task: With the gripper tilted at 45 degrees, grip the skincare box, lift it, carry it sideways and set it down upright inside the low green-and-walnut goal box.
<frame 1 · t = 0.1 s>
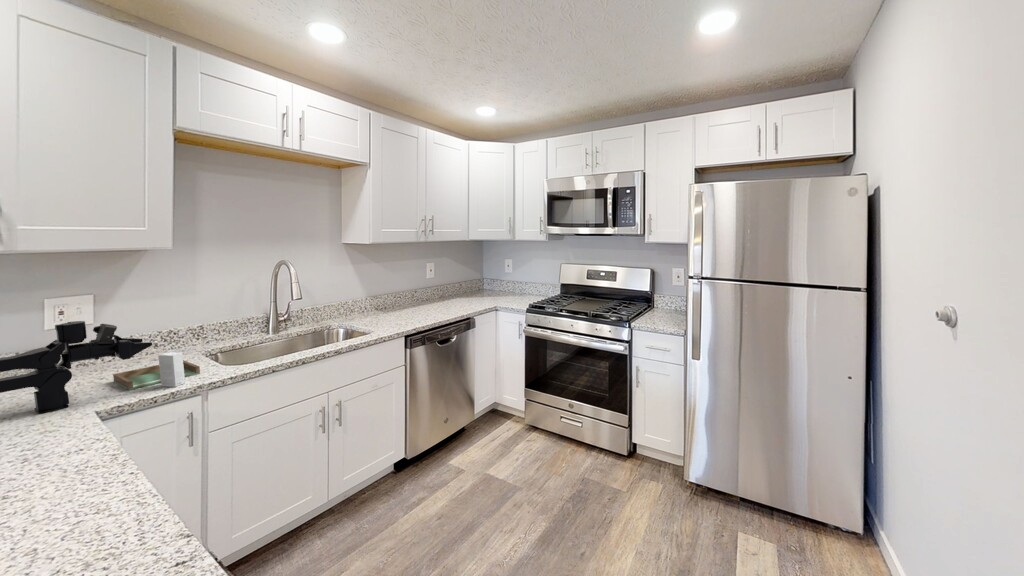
hand: (147, 341, 153), 17 cm above the worktop, tool horizontal, fingers open, 9 cm apart
skincare box: (173, 385, 155), on the worktop
goal box: (158, 377, 163), on the worktop
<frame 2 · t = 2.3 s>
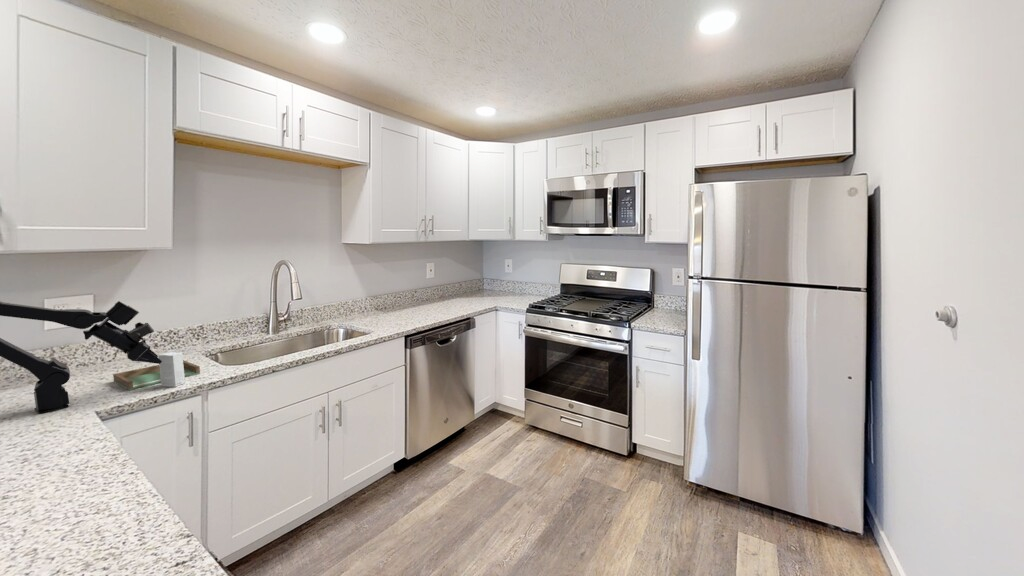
hand: (159, 359, 152), 10 cm above the worktop, tool tilted 45°, fingers open, 9 cm apart
nothing on the worktop moved.
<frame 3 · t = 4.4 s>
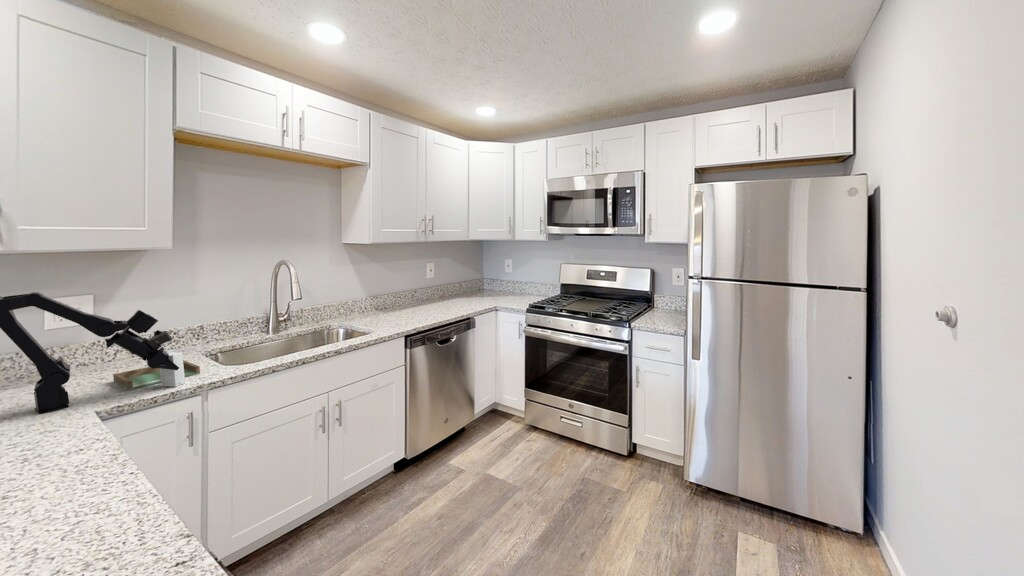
hand: (176, 366, 156), 7 cm above the worktop, tool tilted 45°, fingers closed on skincare box, 7 cm apart
skincare box: (173, 385, 155), on the worktop, touching gripper
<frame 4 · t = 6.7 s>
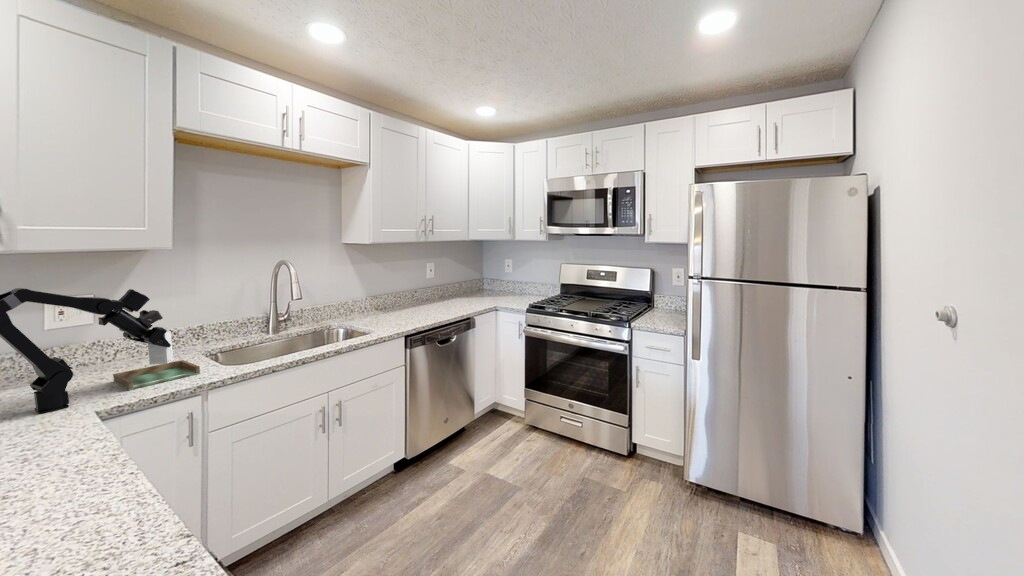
hand: (164, 345, 161), 13 cm above the worktop, tool tilted 45°, fingers closed on skincare box, 7 cm apart
skincare box: (161, 363, 160), point 6 cm above the worktop, touching gripper
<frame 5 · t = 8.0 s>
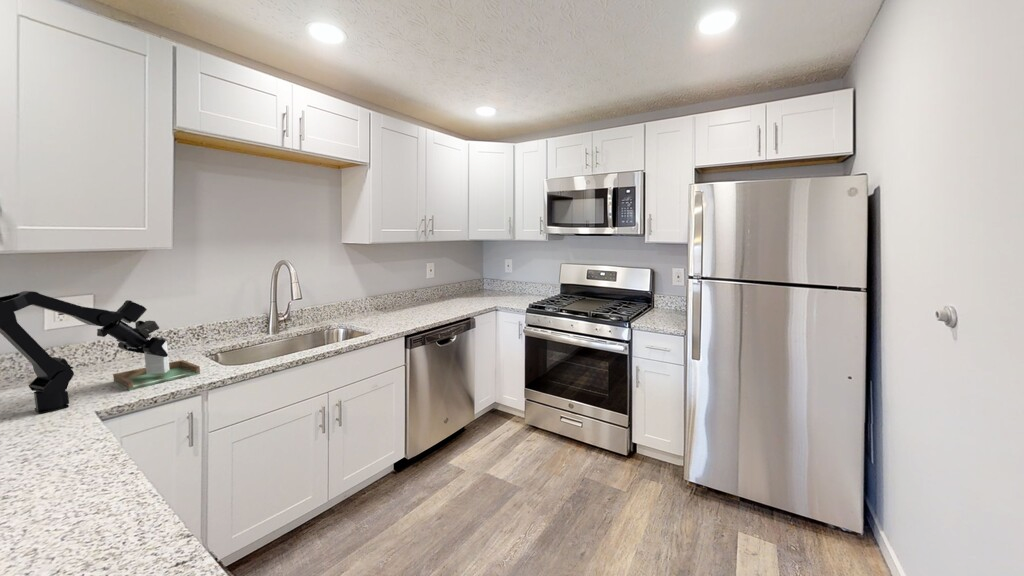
hand: (160, 354, 162), 9 cm above the worktop, tool tilted 45°, fingers closed on skincare box, 7 cm apart
skincare box: (158, 372, 162), point 2 cm above the worktop, touching gripper
when the fingers open (8 cm above the worktop, at t = 9.2 s): skincare box stays where it is, resting on goal box.
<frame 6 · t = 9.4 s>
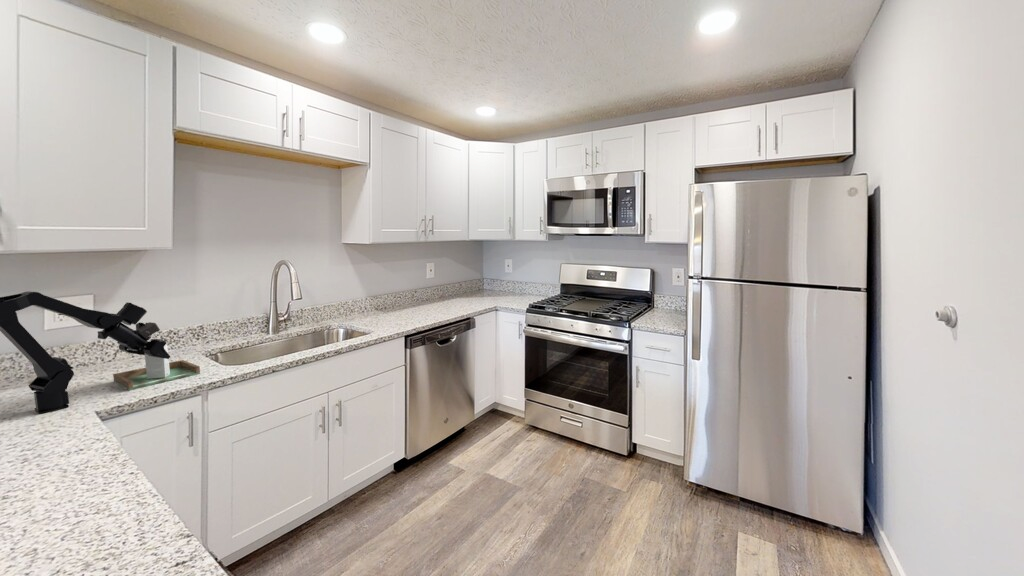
hand: (161, 356, 163), 8 cm above the worktop, tool tilted 45°, fingers open, 9 cm apart
skincare box: (158, 377, 162), resting on goal box
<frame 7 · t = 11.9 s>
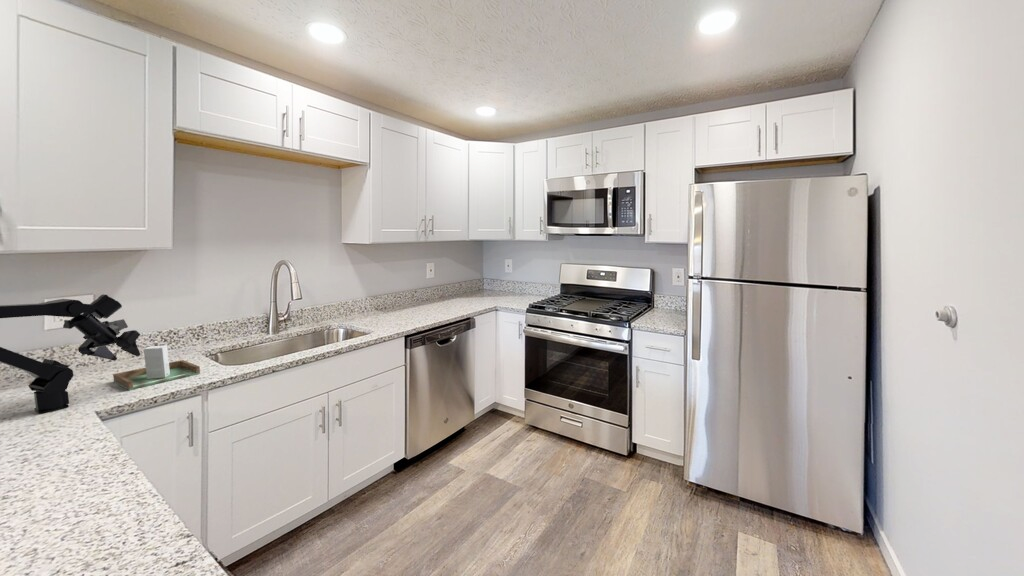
hand: (127, 357, 152), 11 cm above the worktop, tool tilted 35°, fingers open, 9 cm apart
nothing on the worktop moved.
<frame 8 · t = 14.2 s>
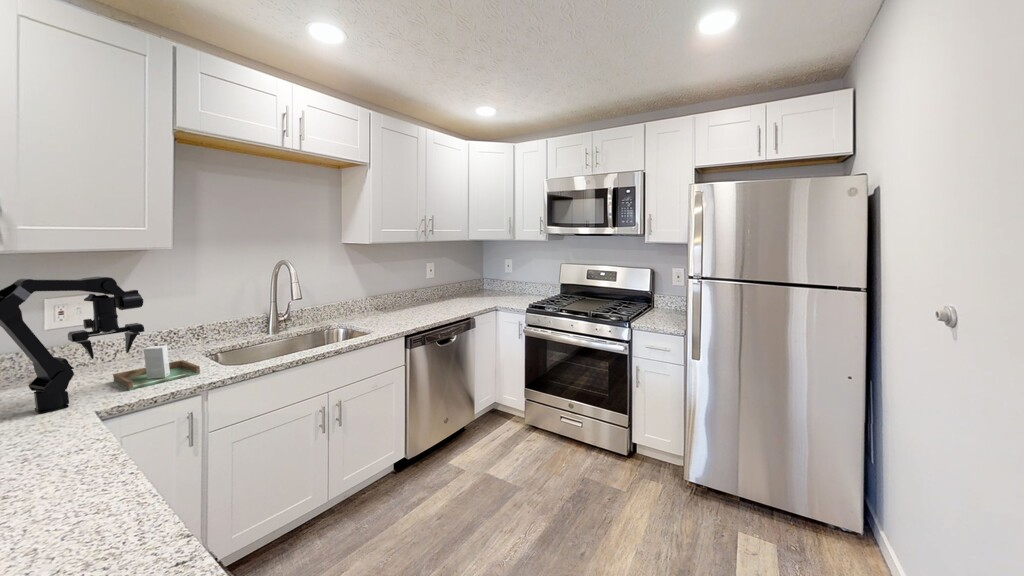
hand: (110, 355, 147), 13 cm above the worktop, tool pointing down, fingers open, 9 cm apart
nothing on the worktop moved.
at the end: skincare box inside the target area on the goal box (1.0 cm from its centre), point 0.4 cm above the goal box's base; skincare box tilted 0°; the gripper is holding nothing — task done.
